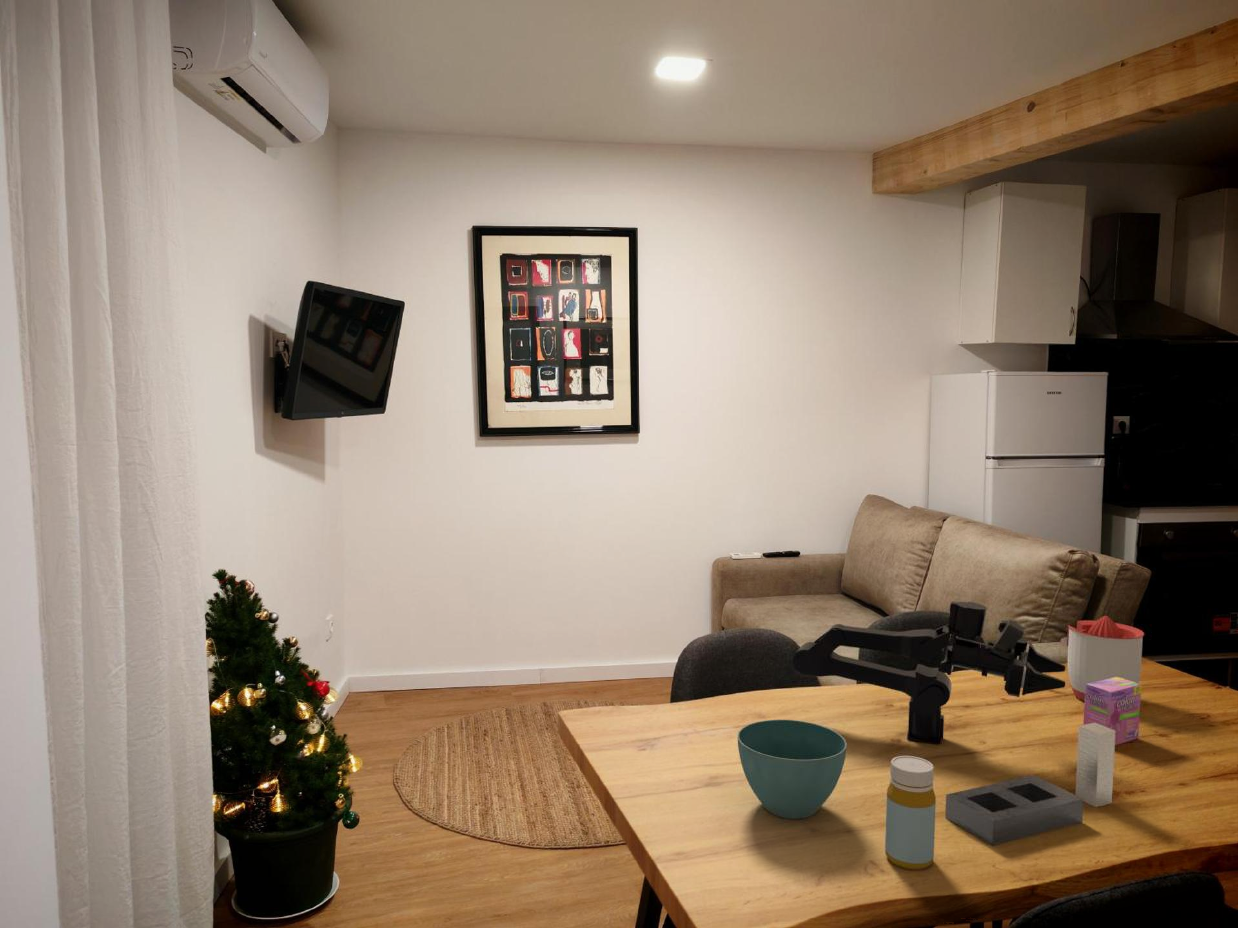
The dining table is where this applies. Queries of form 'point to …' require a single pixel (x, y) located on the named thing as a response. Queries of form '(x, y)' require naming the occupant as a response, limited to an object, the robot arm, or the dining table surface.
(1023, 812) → the grey flat block
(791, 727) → the teal bowl
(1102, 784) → the peg
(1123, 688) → the box
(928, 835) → the bottle
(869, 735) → the dining table surface
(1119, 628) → the citrus juicer
